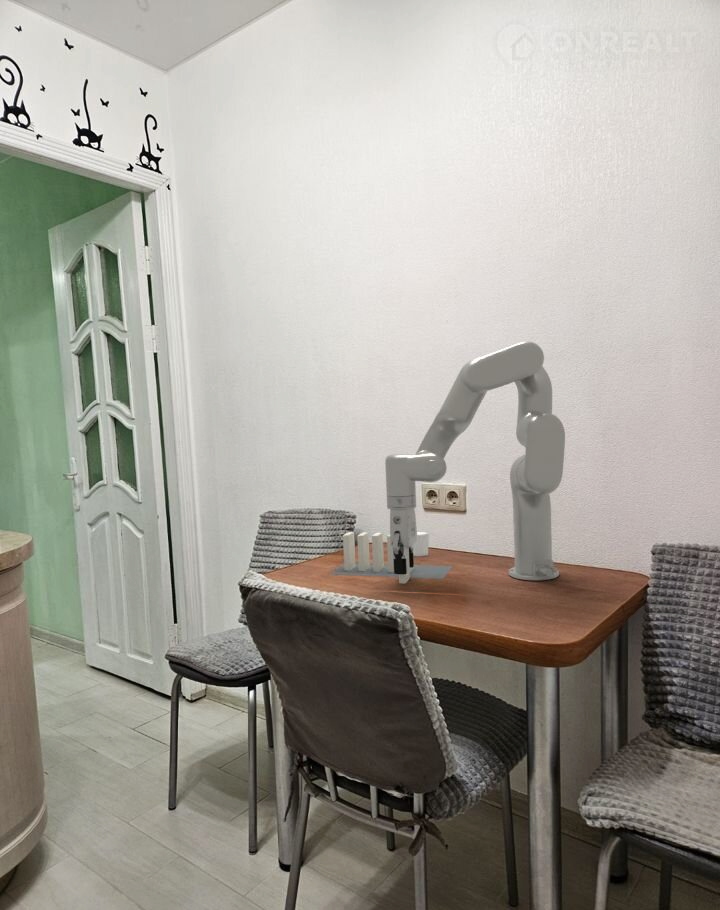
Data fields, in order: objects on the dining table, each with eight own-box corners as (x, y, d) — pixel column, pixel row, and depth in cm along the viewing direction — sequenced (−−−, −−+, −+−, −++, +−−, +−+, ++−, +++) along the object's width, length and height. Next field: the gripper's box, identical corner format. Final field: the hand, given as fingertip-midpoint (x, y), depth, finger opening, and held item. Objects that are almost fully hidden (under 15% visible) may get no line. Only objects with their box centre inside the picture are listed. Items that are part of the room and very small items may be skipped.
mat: (452, 567, 182) (452, 566, 182) (443, 580, 168) (442, 578, 168) (345, 563, 192) (345, 562, 192) (328, 575, 179) (328, 574, 179)
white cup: (403, 555, 201) (402, 532, 200) (422, 552, 204) (422, 530, 203) (414, 559, 194) (413, 535, 194) (434, 556, 197) (433, 533, 197)
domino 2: (369, 567, 185) (368, 532, 184) (364, 571, 180) (362, 535, 179) (364, 566, 185) (363, 532, 185) (358, 571, 180) (357, 535, 180)
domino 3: (384, 567, 183) (382, 532, 183) (378, 571, 179) (377, 535, 178) (378, 567, 184) (377, 532, 183) (373, 571, 179) (371, 535, 179)
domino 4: (398, 568, 182) (397, 532, 181) (393, 572, 177) (392, 536, 177) (393, 567, 182) (391, 532, 182) (388, 572, 178) (386, 536, 177)
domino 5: (409, 579, 170) (408, 542, 170) (405, 584, 165) (403, 546, 165) (404, 579, 171) (402, 542, 170) (399, 584, 166) (397, 546, 165)
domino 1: (355, 566, 186) (354, 532, 186) (349, 570, 181) (348, 535, 181) (350, 566, 187) (348, 532, 186) (344, 570, 182) (342, 535, 181)
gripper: (407, 507, 157) (409, 579, 158) (423, 497, 174) (425, 563, 175) (377, 506, 160) (380, 578, 161) (396, 497, 176) (398, 562, 177)
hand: (404, 569), depth 168 cm, fingers open, 6 cm apart
